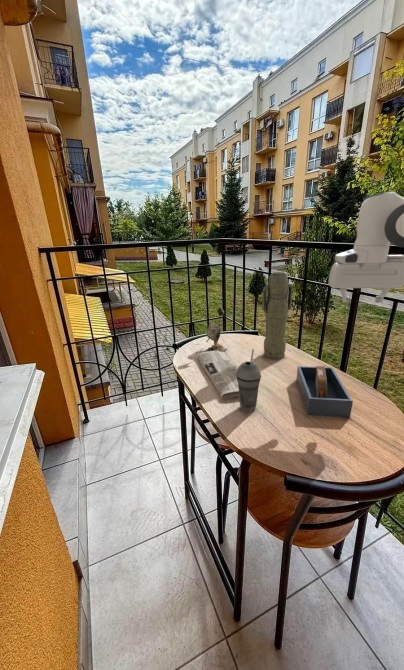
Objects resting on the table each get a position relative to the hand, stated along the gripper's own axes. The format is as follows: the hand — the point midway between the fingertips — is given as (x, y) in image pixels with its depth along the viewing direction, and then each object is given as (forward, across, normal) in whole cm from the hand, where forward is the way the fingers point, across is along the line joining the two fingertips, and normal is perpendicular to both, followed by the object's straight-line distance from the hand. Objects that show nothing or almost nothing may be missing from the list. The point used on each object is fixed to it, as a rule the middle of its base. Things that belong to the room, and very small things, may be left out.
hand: (361, 302), depth 86 cm
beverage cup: (+29, +34, +17) cm, 48 cm away
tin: (+29, +11, +8) cm, 32 cm away
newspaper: (+29, +43, -4) cm, 52 cm away
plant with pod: (+29, +49, -28) cm, 64 cm away
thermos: (+29, +23, -23) cm, 44 cm away
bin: (+29, +11, +8) cm, 32 cm away
